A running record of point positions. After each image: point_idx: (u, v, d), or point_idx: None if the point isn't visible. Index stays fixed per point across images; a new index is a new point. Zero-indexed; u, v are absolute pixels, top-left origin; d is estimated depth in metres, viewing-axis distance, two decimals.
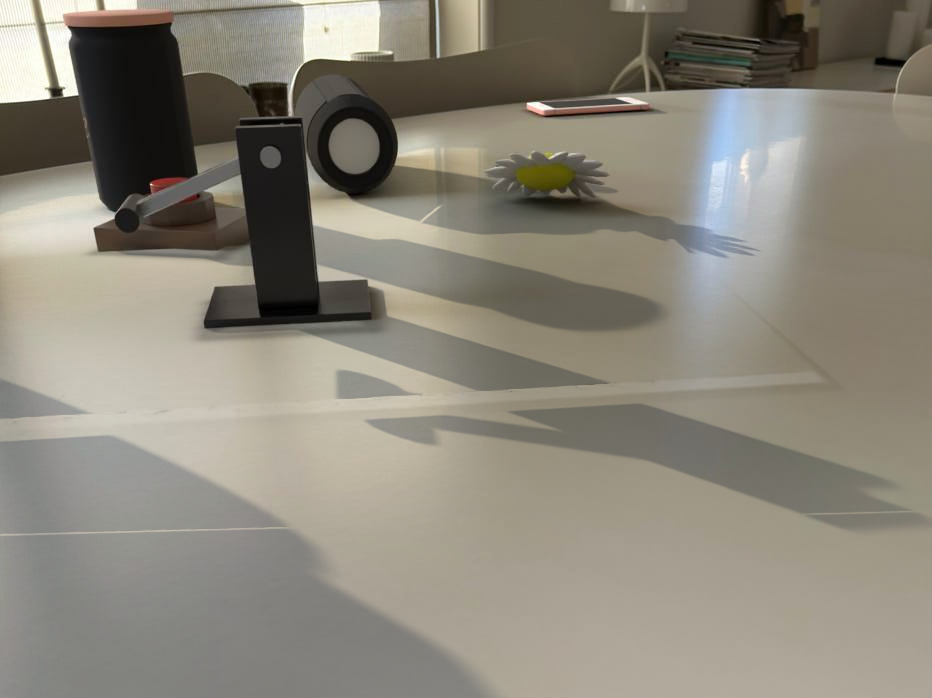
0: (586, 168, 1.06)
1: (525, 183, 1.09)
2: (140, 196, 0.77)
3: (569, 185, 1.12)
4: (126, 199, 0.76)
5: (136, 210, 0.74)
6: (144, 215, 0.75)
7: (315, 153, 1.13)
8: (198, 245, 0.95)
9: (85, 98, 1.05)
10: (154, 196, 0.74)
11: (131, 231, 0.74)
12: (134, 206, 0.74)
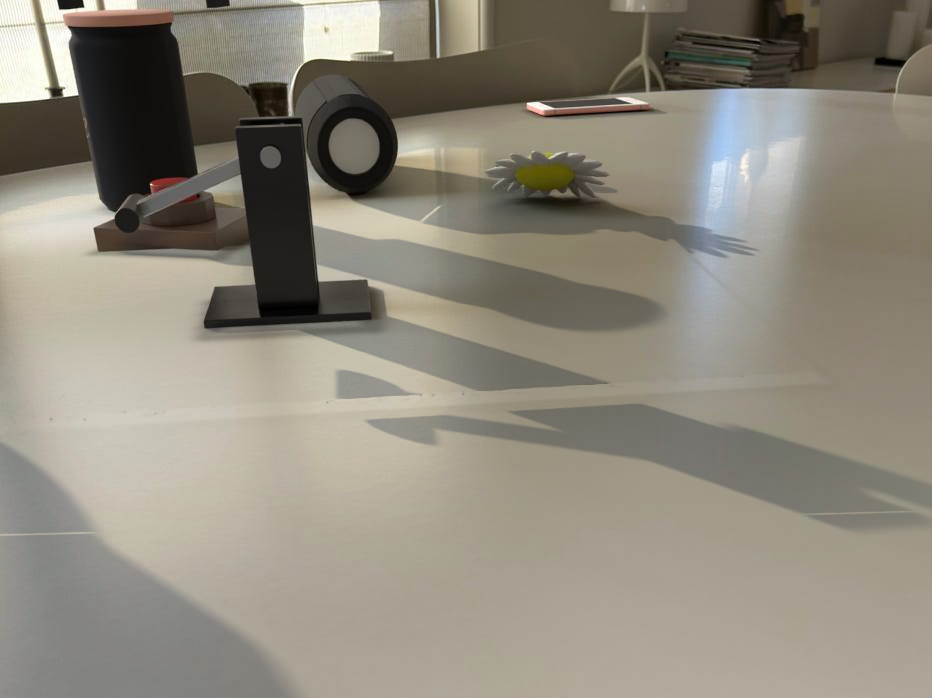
0: (586, 168, 1.06)
1: (525, 183, 1.09)
2: (140, 196, 0.77)
3: (569, 185, 1.12)
4: (126, 199, 0.76)
5: (136, 210, 0.74)
6: (144, 215, 0.75)
7: (315, 153, 1.13)
8: (198, 245, 0.95)
9: (85, 98, 1.05)
10: (154, 196, 0.74)
11: (131, 231, 0.74)
12: (134, 206, 0.74)
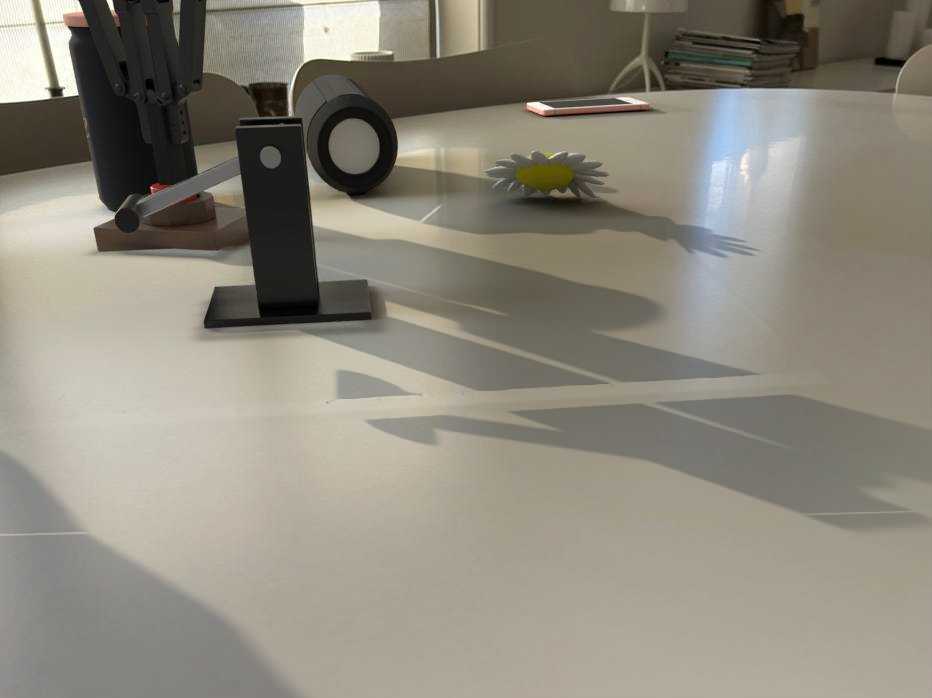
0: (586, 168, 1.06)
1: (525, 183, 1.09)
2: (140, 196, 0.77)
3: (569, 185, 1.12)
4: (126, 199, 0.76)
5: (136, 210, 0.74)
6: (144, 215, 0.75)
7: (315, 153, 1.13)
8: (198, 245, 0.95)
9: (85, 98, 1.05)
10: (154, 196, 0.74)
11: (131, 231, 0.74)
12: (134, 206, 0.74)
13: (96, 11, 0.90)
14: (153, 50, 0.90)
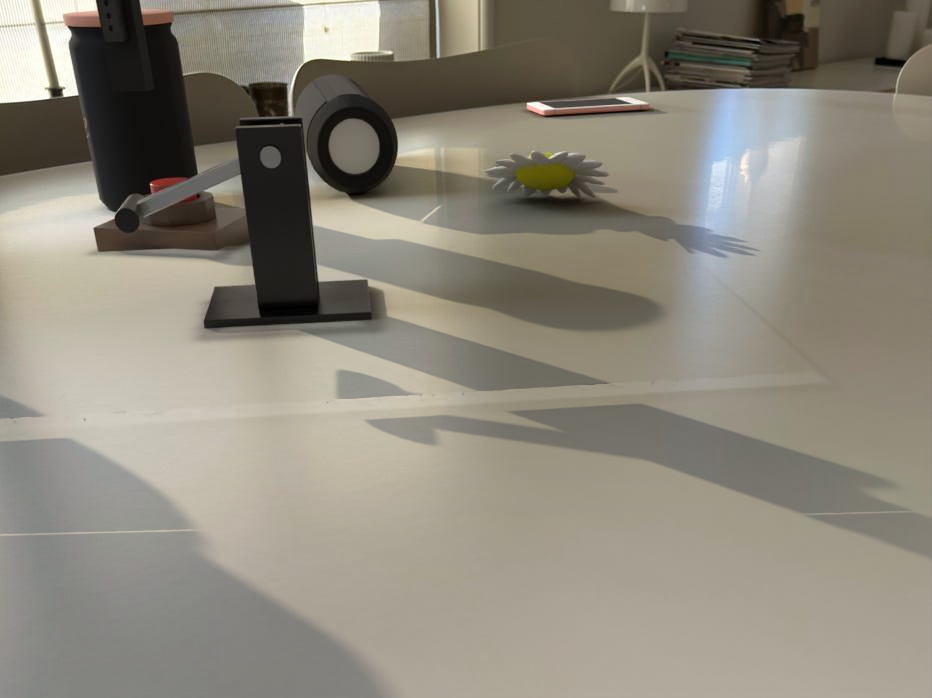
0: (586, 168, 1.06)
1: (525, 183, 1.09)
2: (140, 196, 0.77)
3: (569, 185, 1.12)
4: (126, 199, 0.76)
5: (136, 210, 0.74)
6: (144, 215, 0.75)
7: (315, 153, 1.13)
8: (198, 245, 0.95)
9: (85, 98, 1.05)
10: (154, 196, 0.74)
11: (131, 231, 0.74)
12: (134, 206, 0.74)
13: None
14: None
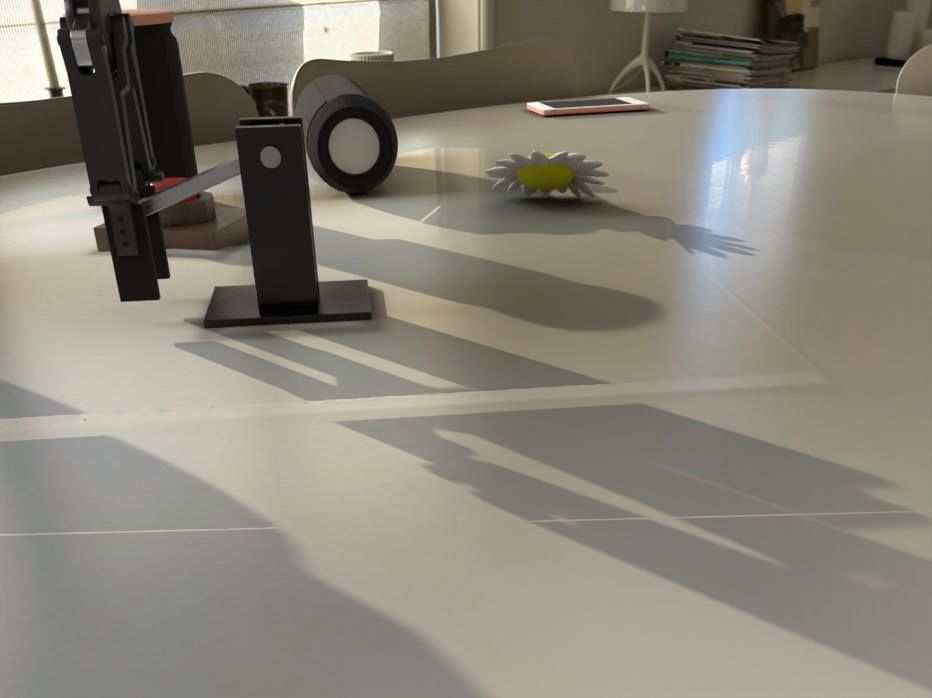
0: (586, 168, 1.06)
1: (525, 183, 1.09)
2: (140, 196, 0.77)
3: (569, 185, 1.12)
4: None
5: None
6: None
7: (315, 153, 1.13)
8: (198, 245, 0.95)
9: None
10: (154, 196, 0.74)
11: None
12: None
13: None
14: (140, 126, 0.75)
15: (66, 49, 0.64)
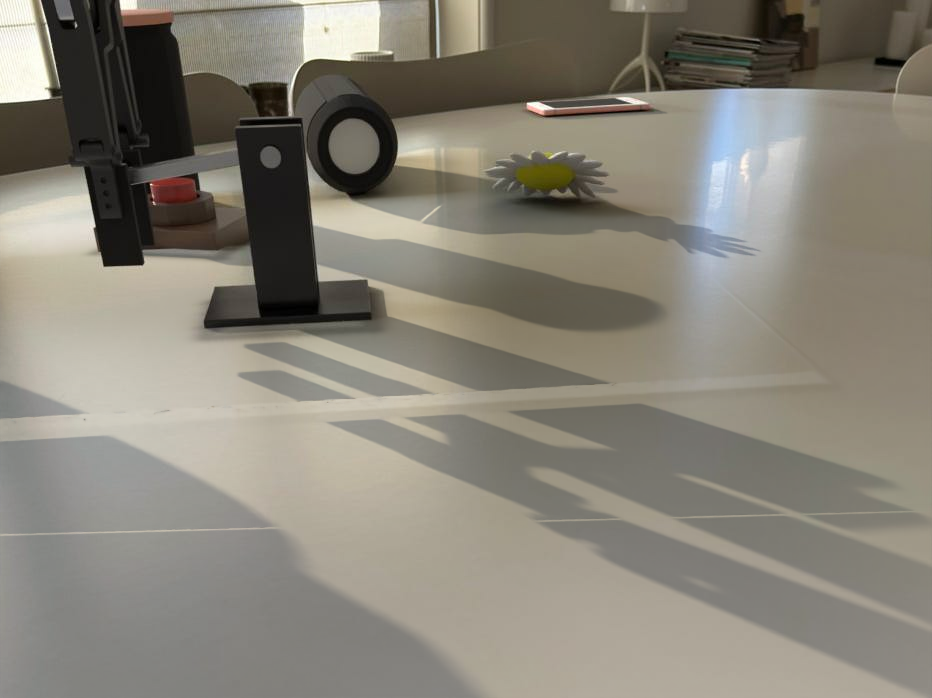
0: (586, 168, 1.06)
1: (525, 183, 1.09)
2: (128, 163, 0.75)
3: (569, 185, 1.12)
4: None
5: None
6: None
7: (315, 153, 1.13)
8: (198, 245, 0.95)
9: None
10: (144, 167, 0.73)
11: None
12: None
13: None
14: (124, 87, 0.73)
15: (47, 2, 0.62)
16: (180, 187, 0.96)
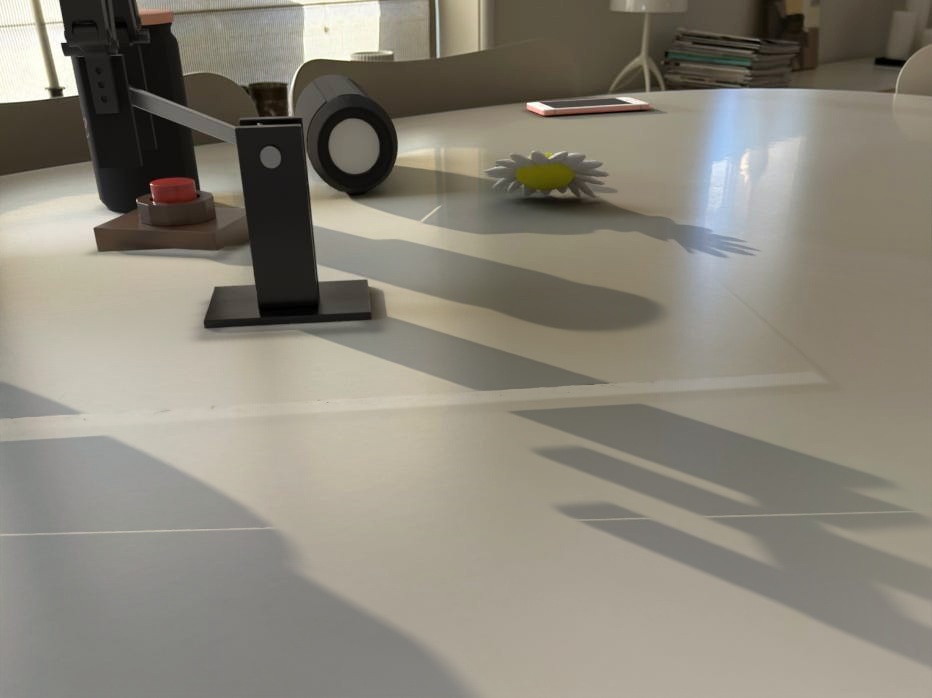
0: (586, 168, 1.06)
1: (525, 183, 1.09)
2: None
3: (569, 185, 1.12)
4: None
5: None
6: None
7: (315, 153, 1.13)
8: (198, 245, 0.95)
9: (85, 98, 1.05)
10: (143, 94, 0.71)
11: None
12: None
13: None
14: None
15: None
16: (180, 187, 0.96)
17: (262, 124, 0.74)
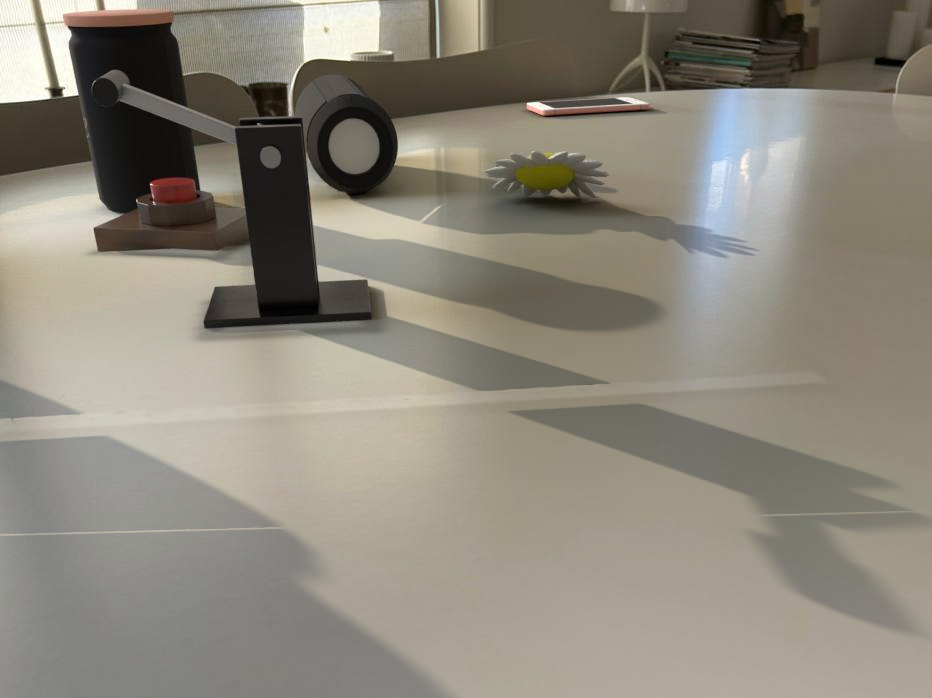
0: (586, 168, 1.06)
1: (525, 183, 1.09)
2: (127, 80, 0.72)
3: (569, 185, 1.12)
4: (113, 72, 0.71)
5: (120, 91, 0.70)
6: (121, 99, 0.71)
7: (315, 153, 1.13)
8: (198, 245, 0.95)
9: (85, 98, 1.05)
10: (143, 94, 0.71)
11: (101, 103, 0.69)
12: (120, 86, 0.70)
13: None
14: None
15: None
16: (180, 187, 0.96)
17: (262, 124, 0.74)
